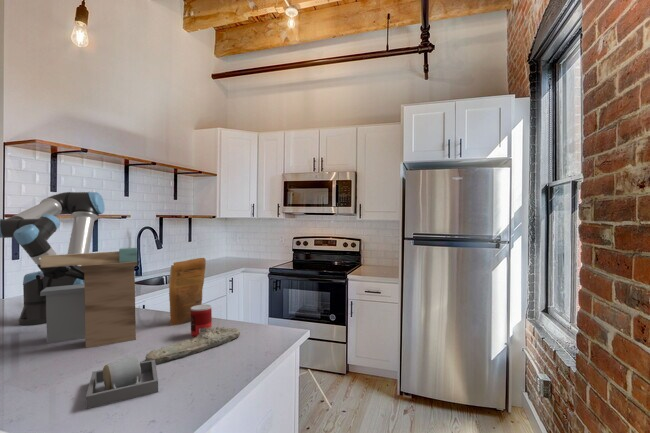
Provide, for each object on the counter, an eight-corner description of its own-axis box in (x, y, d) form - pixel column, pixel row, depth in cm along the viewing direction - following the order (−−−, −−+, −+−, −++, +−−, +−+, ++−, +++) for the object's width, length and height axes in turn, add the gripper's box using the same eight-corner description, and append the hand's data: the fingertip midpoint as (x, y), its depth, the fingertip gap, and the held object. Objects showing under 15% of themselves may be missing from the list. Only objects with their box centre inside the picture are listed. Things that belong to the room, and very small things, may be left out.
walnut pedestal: (85, 340, 134) (84, 262, 134) (138, 331, 142) (137, 259, 142) (82, 349, 124) (80, 266, 124) (138, 339, 133) (137, 262, 133)
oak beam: (43, 266, 126) (43, 252, 126) (137, 259, 140) (136, 247, 140) (39, 268, 120) (39, 254, 120) (137, 261, 135) (137, 248, 135)
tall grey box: (47, 337, 138) (46, 287, 138) (106, 328, 147) (105, 281, 147) (41, 345, 129) (40, 291, 129) (104, 335, 139) (103, 285, 139)
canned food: (215, 331, 140) (215, 305, 140) (202, 338, 133) (202, 310, 133) (200, 330, 143) (199, 303, 143) (186, 336, 135) (186, 308, 135)
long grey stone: (139, 365, 113) (152, 375, 107) (138, 349, 113) (151, 359, 106) (231, 331, 140) (245, 338, 133) (230, 318, 139) (245, 324, 133)
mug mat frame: (92, 382, 99) (92, 371, 99) (155, 369, 106) (154, 359, 106) (86, 409, 85) (85, 396, 85) (158, 391, 92) (158, 380, 92)
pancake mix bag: (211, 317, 162) (209, 257, 162) (172, 328, 146) (171, 262, 146) (202, 314, 166) (201, 256, 166) (164, 325, 150) (162, 261, 150)
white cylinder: (101, 386, 96) (101, 359, 96) (134, 376, 101) (133, 350, 101) (111, 401, 88) (111, 371, 88) (146, 389, 94) (145, 361, 94)
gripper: (9, 276, 135) (42, 313, 146) (77, 253, 140) (104, 290, 151) (16, 266, 141) (47, 302, 152) (81, 244, 147) (107, 280, 158)
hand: (76, 296), depth 152 cm, fingers open, 13 cm apart
